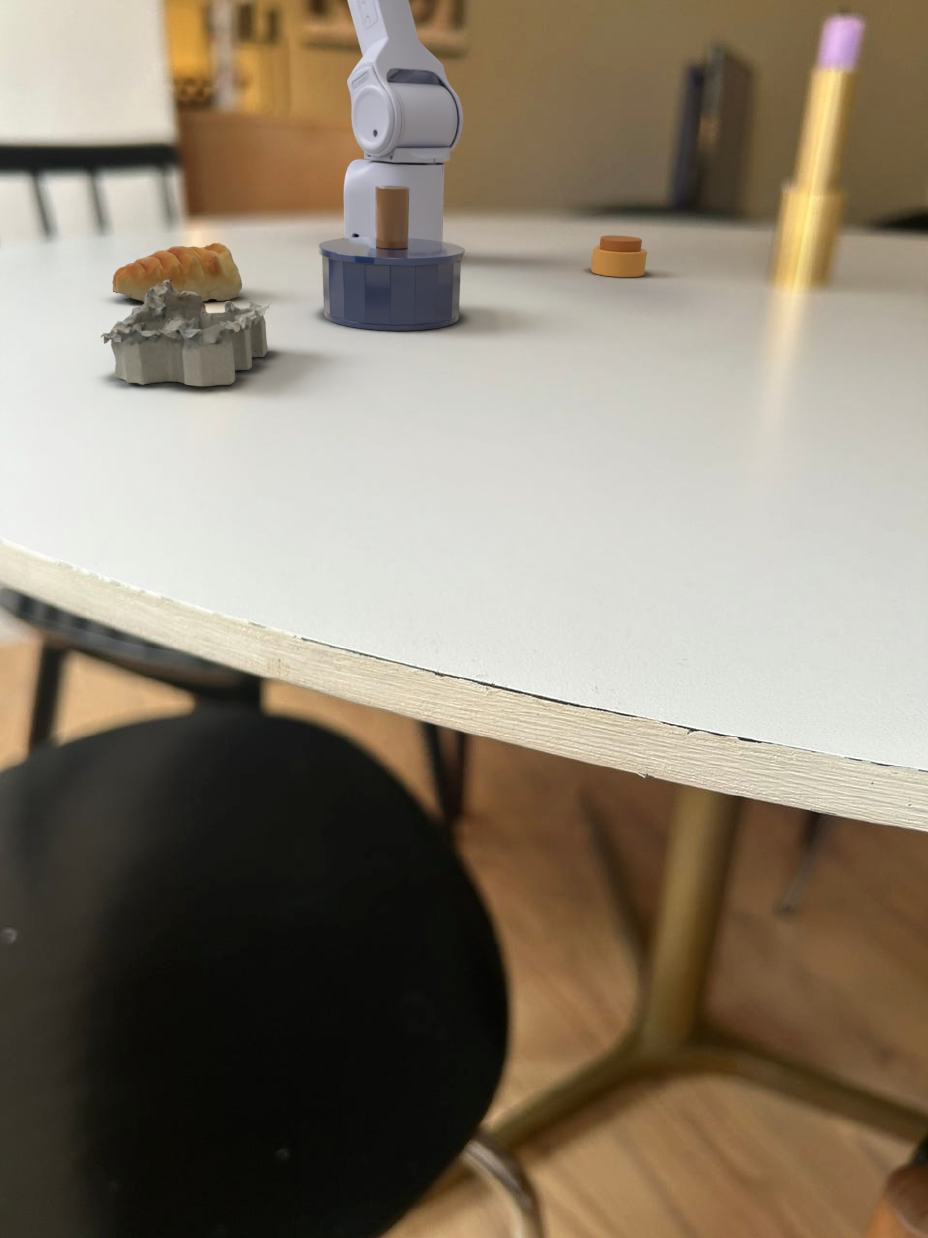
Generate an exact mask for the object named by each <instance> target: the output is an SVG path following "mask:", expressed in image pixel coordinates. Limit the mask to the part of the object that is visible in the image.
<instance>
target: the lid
mask: <svg viewBox="0 0 928 1238" xmlns="http://www.w3.org/2000/svg"><path fill="white" fill-rule="evenodd" d="M375 221H376V237H355V238H344V237H343V238H342V237H341V238H335V239H329V240H325V241H322V242H320V243H319V244H318V253H319V255H320V256H321V257H322V256H324V257H327V258H330V259H334V260H339V261H344V262H351V263H359V264H370V265H386V266H426V265H440V264H448V263H453V262H457V261H460V260H461V261H462V260H464V259H465V257H466V249H465V248H464V247H462V246H460V245H457V244H455V243H450V242H446V241H443V242H440V241H434V240H425V239H414V238H409V187H405V186H393V185H380V186H376V187H375Z"/></svg>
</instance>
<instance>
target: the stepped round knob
mask: <svg viewBox="0 0 928 1238" xmlns="http://www.w3.org/2000/svg"><path fill="white" fill-rule="evenodd" d="M599 239H600V240H599V245H595V246H594V247H593V248H592V257H591V266H590V267H591V268H590V272H591V273H593V274H595V275H599V276H604V277H612V278H613V277H614V278H639V277H642V276H644V275H645V272H646V263H647V255H648V251H647V250H646V249H644V248H642V245H643V239H642V238H641V237H636V236H630V235H629V236H628V235H614V234H613V235H612V234H611V235H610V234H609V235H602V236H600V238H599Z"/></svg>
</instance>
